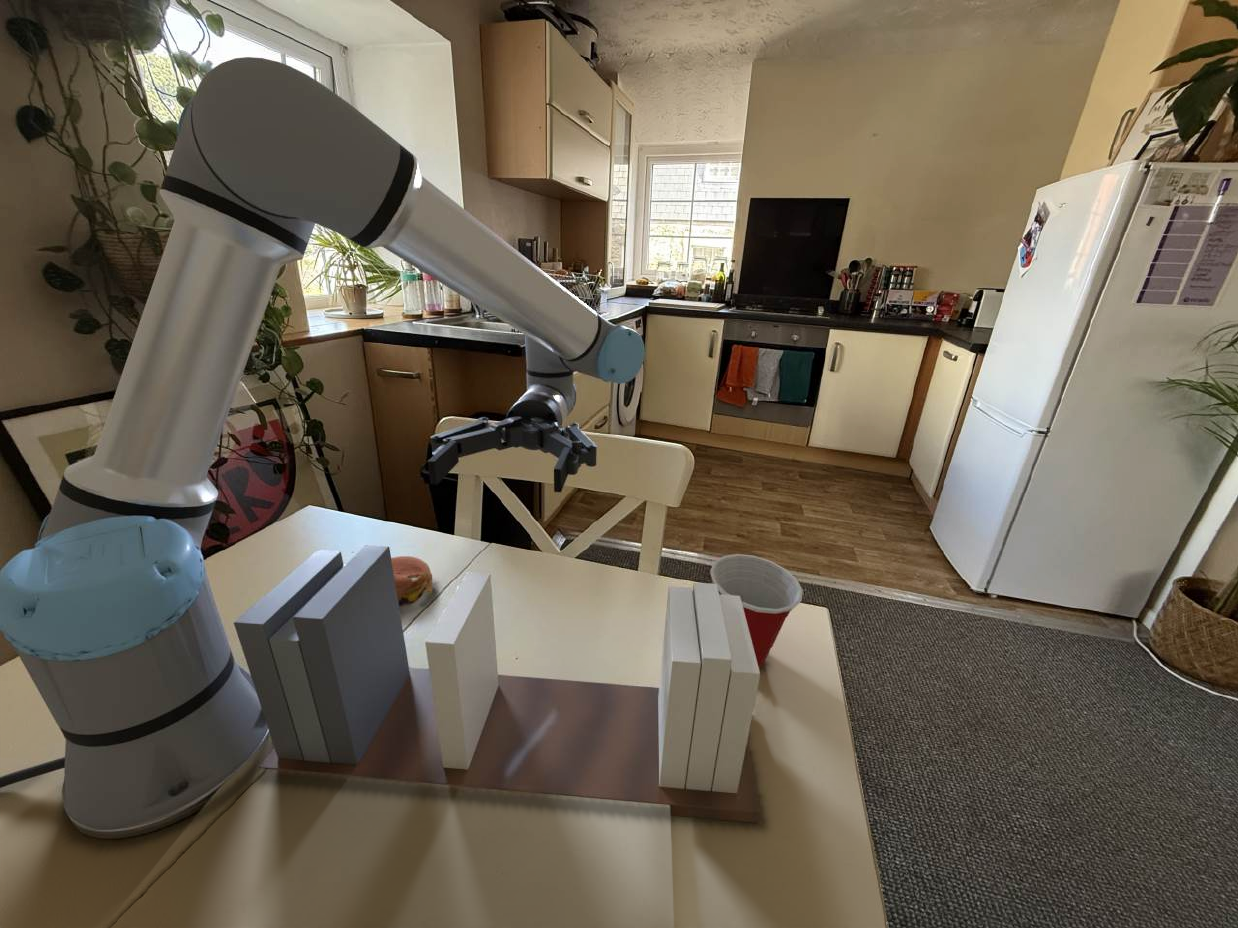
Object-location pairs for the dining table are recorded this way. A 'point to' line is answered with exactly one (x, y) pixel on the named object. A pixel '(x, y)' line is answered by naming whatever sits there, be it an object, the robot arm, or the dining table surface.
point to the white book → (463, 668)
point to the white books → (705, 690)
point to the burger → (411, 578)
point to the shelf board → (541, 747)
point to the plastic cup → (758, 595)
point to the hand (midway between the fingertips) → (494, 477)
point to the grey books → (327, 654)
